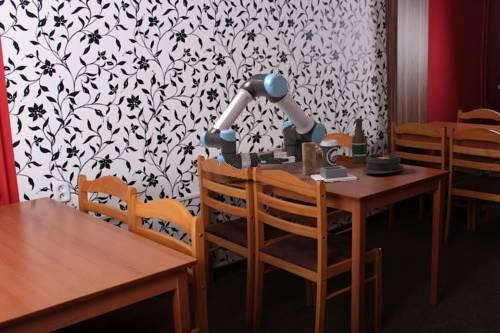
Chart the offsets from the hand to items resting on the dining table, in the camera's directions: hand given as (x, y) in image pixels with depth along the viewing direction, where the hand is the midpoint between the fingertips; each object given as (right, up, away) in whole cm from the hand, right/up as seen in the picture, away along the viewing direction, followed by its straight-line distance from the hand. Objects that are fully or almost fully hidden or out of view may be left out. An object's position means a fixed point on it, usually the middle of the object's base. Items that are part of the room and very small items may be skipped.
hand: (290, 156), depth 271 cm
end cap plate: (+20, -11, -9) cm, 24 cm away
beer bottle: (+40, -3, +28) cm, 49 cm away
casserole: (+46, -8, 0) cm, 47 cm away
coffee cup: (+22, -6, +15) cm, 27 cm away
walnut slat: (+10, -9, +4) cm, 14 cm away
